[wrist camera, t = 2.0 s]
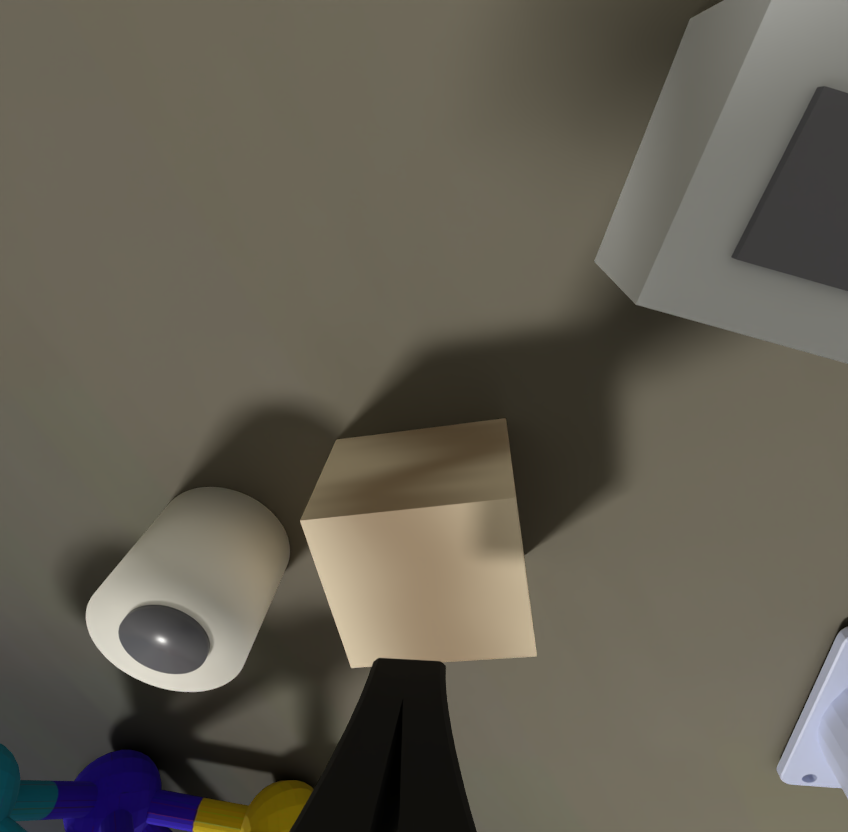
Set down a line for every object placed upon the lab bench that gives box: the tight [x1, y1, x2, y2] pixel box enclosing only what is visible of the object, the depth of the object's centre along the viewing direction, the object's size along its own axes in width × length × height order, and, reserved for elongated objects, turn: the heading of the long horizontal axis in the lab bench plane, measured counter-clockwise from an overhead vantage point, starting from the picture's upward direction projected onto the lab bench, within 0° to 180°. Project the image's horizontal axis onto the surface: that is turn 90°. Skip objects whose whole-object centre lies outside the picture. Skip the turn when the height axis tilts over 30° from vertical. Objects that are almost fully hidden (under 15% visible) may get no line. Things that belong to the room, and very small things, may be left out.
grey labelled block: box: [594, 0, 848, 364], centre depth 11 cm, size 5×5×4 cm
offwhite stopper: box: [86, 487, 290, 692], centre depth 17 cm, size 4×4×4 cm
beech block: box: [300, 418, 537, 668], centre depth 15 cm, size 5×5×4 cm
